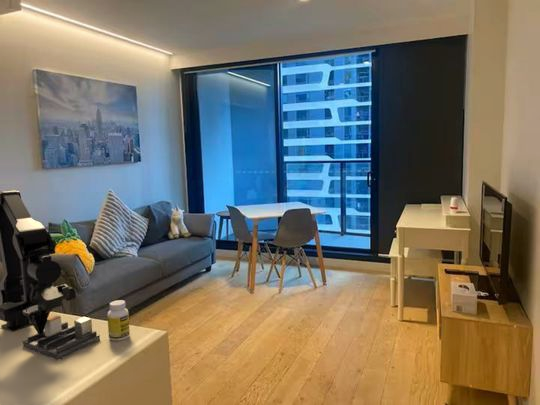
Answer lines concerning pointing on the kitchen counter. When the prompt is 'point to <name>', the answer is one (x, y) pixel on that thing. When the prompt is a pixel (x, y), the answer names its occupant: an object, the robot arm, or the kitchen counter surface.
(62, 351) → the breaker panel
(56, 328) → the block
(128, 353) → the kitchen counter surface
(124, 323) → the supplement bottle
